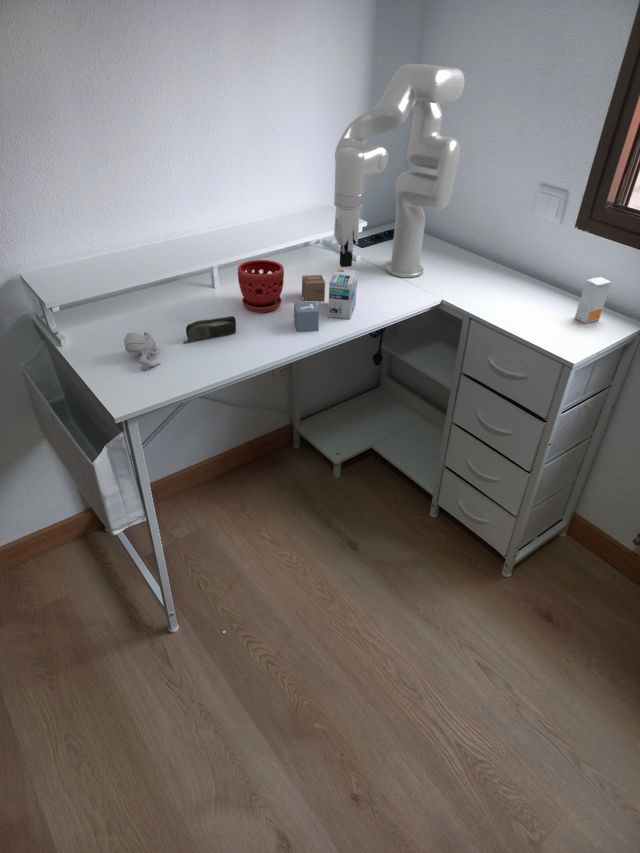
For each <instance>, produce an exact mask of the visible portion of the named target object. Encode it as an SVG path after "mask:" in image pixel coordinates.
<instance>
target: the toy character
mask: <svg viewBox="0 0 640 853" xmlns="http://www.w3.org/2000/svg"><path fill="white" fill-rule="evenodd" d="M123 345H124V350H125V352H128V353H135V354H137V353H138V354H140V355H141V356H140V358H139V360H138V361H137V363H139V364H141V366H140V370H145V371H146V370H150V367H151V368H153V367H157V365H159V366H161V365H162V363H160V362H151V361H149V360H148V357H151V355H152V356H155V355H157V353H156V351H158V350H159V347H157V346H156V345H157V344H156V341H155V340H154V338H153V337H152V336H151V334H150V333H148V332H146V331H145V332H143V334H140V333H136V332H127V333H126V335H125V337H124V339H123Z"/></svg>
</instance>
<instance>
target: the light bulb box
mask: <svg viewBox="0 0 640 853" xmlns="http://www.w3.org/2000/svg"><path fill="white" fill-rule="evenodd" d="M358 273H359V272H358V270H351V269H345V268H344V269H343V268H335V270H334V272H333V274H332V276H331V278H330V279H329V284H328V286H329V287H328V309H327V310H328V311H327V313H328V314H327V317H331V318H337V319H339V318H340V319H344V320H345V319H346V320H351V317H352V316H353V313H354V311H355V308H356V305H357V304H356V303H357V289H358V288H357V287H358Z"/></svg>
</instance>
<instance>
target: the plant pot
mask: <svg viewBox="0 0 640 853" xmlns="http://www.w3.org/2000/svg"><path fill="white" fill-rule="evenodd" d="M284 269H285V268H284V266H283V265H282V264H281V263H280V262H278V261H273V260H269V259H254V260H249V261H245V262H242V263H241V264H239V265H238V267H237V279H238V285H239V289H240V290H239V291H240V292H241V295H242V296H243V297H242V299H241V302H242V305H243V306H244V307H245V308H246V309H248V310H250V311H253V312H257V313H266V312H268V311H269V312H271V311H274V310H276V309H277V308H279V307H280V306H281V305H282V301H283V300H282V297H281V294H282V292H283V288H284V283H285V281H284V279H285V278H284V277H285V270H284ZM260 270H261V271H262V273H260ZM253 271H254V272H253ZM269 272H270V273H269Z"/></svg>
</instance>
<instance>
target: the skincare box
mask: <svg viewBox="0 0 640 853" xmlns="http://www.w3.org/2000/svg"><path fill="white" fill-rule="evenodd" d="M612 283H613V282H612V281H610V280H608V279H606V278H604V277H602V276H599V277H593V278H589V279H586V280H585V283H584V286H583V289H582V293H581V295H580V296H581V297H580V298H579V302H578V306H577V308H576V312H575V315H574V319H576V320H578V321H580V322H582V323H583V324H587V323H593V322H595V321H600V318H601V315H602V312H603V310H604V306H605V303H606V300H607V299H608V298H607V297H608V295H609V292H610V288H611V286H612Z"/></svg>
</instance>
